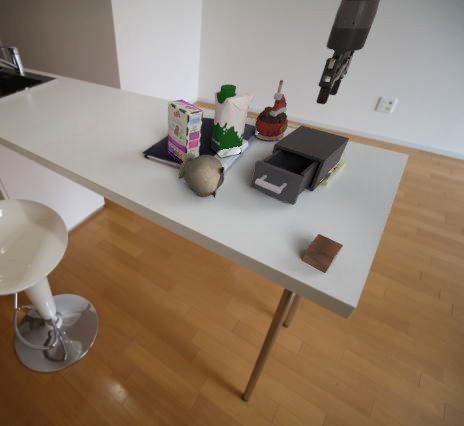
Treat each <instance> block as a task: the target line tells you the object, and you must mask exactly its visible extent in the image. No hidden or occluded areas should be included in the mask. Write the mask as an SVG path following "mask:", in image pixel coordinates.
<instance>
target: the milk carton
mask: <svg viewBox="0 0 464 426" xmlns="http://www.w3.org/2000/svg"><path fill="white" fill-rule="evenodd" d="M254 97H255V96H254V94H252V93H250V92H248V91H246V90H243V89H242V88H240V87H237V86H236V85H234V84H222V85H221V86H220V90H217V91H214V116H213V117H214V118H213V126H212V135H211V140H210V145H211V144H212V145H213V146H215V147H216V148H218V149H219V150H223V149H229V148H233V147H237V146H238V147H240V146H242V147H243V141H244V134H245V129H246V128H245V127H246V123H247V118H248V112H249V109H250V106H251V103H252V100H253V98H254ZM241 154H242V151H241V152H240V153H239V154H238V155H241Z"/></svg>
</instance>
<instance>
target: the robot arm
mask: <svg viewBox="0 0 464 426" xmlns="http://www.w3.org/2000/svg"><path fill="white" fill-rule="evenodd" d="M380 2H381V0H341V1H340V4H339V6H338V7H337V10H336V13H335V16H334V19H333V23H332V26H331V28H330V32H329V36H328V39H327V41H326V49H328V50H332V51H333V54H332V56H331V57H327V59H326V60H325V65H324V68H323V70H322V74H321V77H320V79H319V82H318V87H319V88H320V89H319V92H318V95H317V98H316V101H315V102H316V104H318V105H326V104H327V103H328V100H329V98H330V96H336V95H337V94H338V91H339V88H340V86H341V84H342V81H343V80H344V79H345V76H346V75H348V71H349V68H350V65H351V63H352V59H353V57H354V54H355V53H356V52H357V51H360V50H362V49H363V48H364V47H365V44H366V42H367V40H368V37H369V34H370V31H371V28H372V26H373V24H374V21H375V19H376V16H377V12H378V9H379V5H380ZM327 80H329V81H327Z"/></svg>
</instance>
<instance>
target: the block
mask: <svg viewBox="0 0 464 426" xmlns="http://www.w3.org/2000/svg"><path fill="white" fill-rule="evenodd" d="M343 247H344V244H342V243H339V242H338V241H335V240H333V239H331V238H329V237H327V236H325V235H323V234H320V233H318V234H317V235H316V237H315V238H314V239H313V240H312V241H311V242H310V244H309V245H308V247H307V249H306V251H305V253H304V255H303V258H302V259H301V261H302V262H304V263H306V264H308V265H309V266H310V267H312V268H314V269H316V270H319V271H320V272H322V273H324V274H326V273H327V272H328V270H329V269H330V267H332V265H333V264H334V262H335V261H336V259H337V257H338V255H339V254H340V252H341V250H342V248H343Z"/></svg>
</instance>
